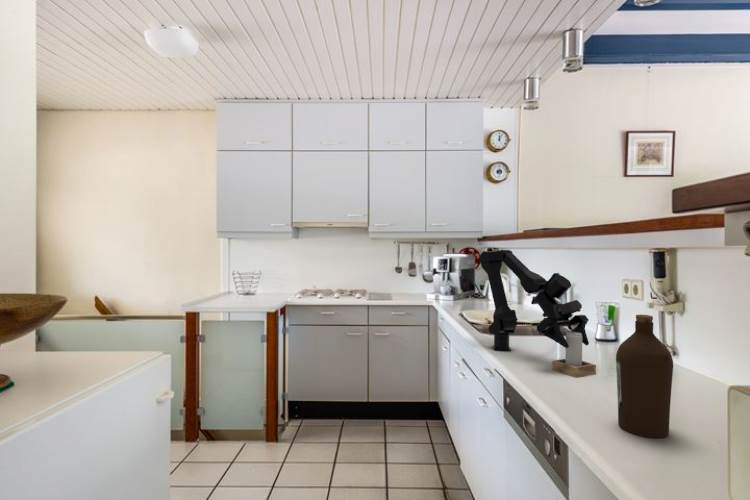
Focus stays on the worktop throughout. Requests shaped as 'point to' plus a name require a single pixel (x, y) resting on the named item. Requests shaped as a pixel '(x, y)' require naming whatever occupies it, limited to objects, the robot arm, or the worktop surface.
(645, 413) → the olive oil
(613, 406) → the worktop surface
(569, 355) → the beverage can
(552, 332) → the robot arm
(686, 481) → the worktop surface
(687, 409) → the worktop surface
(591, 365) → the walnut socket
